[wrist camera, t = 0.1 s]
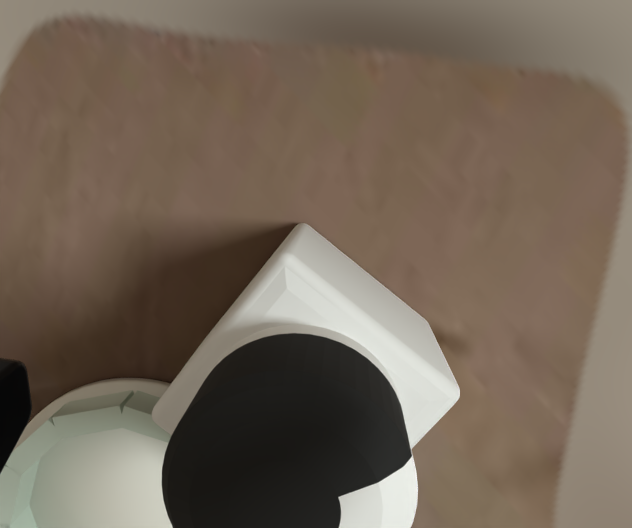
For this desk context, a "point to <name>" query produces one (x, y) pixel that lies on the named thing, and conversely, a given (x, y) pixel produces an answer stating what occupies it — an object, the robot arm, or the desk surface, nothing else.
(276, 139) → the desk surface
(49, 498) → the ring dish
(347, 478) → the medicine bottle
